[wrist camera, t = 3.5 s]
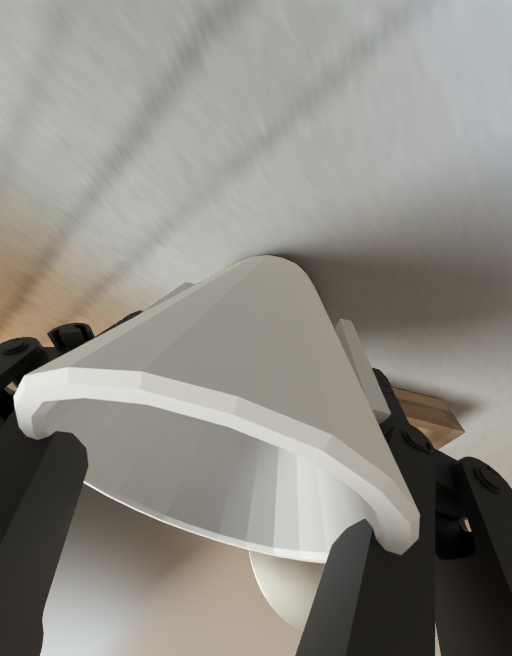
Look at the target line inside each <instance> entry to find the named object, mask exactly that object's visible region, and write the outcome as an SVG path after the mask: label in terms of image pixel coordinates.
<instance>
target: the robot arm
mask: <svg viewBox="0 0 512 656" xmlns="http://www.w3.org/2000/svg"><path fill="white" fill-rule="evenodd" d="M194 285H196V284H192V283H187V282H185V283H184V284H182V285H181V286H179V287H178V288H176V289H175V290H174V291H172V292H171V293H169V294H168V295H166V296H165V297H163V298H162V299H161V300H159V301H158V302H156V303H155V304H153V305H152V306H150V307H149V308H148V309H146V310H145V311H147V310H149V309H151V308H152V307H154V306H156V305H158V304H160V303H162V302H164V301H166V300H168V299H169V298H171V297H173V296H175V295H177V294H179V293H181V292H183V291H184V290H186V289H188V288H190V287H192V286H194ZM145 311H137V312H134V313H132V314H129V315H128V316H126V317H125V318H123V320H120V321H119V322H117V323H116V324H114V325H113V326H111V327H110V328H108V329H106V330H105V331H103V332H102V333H100V334H99V335H97V336H96V337H98V336H100V335H102V334H103V333H105V332H107V331H109V330H111V329H113V328H115V327H117V326H119V325H120V324H122V323H124V322H126V321H128V320H130V319H132V318H134V317H136V316H137V315H139V314H141V313H143V312H145ZM334 330H335V332H336V334H337V336H338V338H339V340H340V343H341V345H342V347H343V349H344V351H345V353H346V356H347V358H348V360H349V362H350V364H351V366H352V369H353V371H354V373H355V375H356V377H357V379H358V382H359V384H360V386H361V388H362V390H363V392H364V394H365V397H366V399H367V401H368V403H369V405H370V407H371V410H372V412H373V414H374V416H375V418H376V420H377V423H378V425H379V427H380V429H381V431H382V433H383V436H384V438H385V440H386V442H387V444H388V446H389V449H390V451H391V453H392V455H393V457H394V459H395V461H396V464H397V466H398V468H399V470H400V472H401V474H402V477H403V479H404V481H405V483H406V485H407V487H408V490H409V492H410V494H411V496H412V498H413V500H414V503H415V505H416V507H417V509H418V511H419V513H420V523H419V539H418V540H417V541H416V542H415V543H414V544H413V545H412V546H411V547H410V548H409V549H408V550H406V551H405V552H404V553H403V554H402V555H399V554H396V553H393V552H389V551H386V550H385V549H384V548H383V547H382V546H381V544H380V543H379V542H378V541H377V539H376V537H375V534H374V530H373V527H372V526H371V525H370V524H369V522H368V521H367V520H366V519H363V520H361V521H359V522H357V523H355V524H353V525H352V526H350V527H348V528H346V529H345V530H344V532H343V533H342V534H341V535H340V536H339V537H338V538H337V540H336V541H335V542H334V543H333V544H332V546H331V549H330V552H329V555H328V558H327V561H326V564H325V567H324V570H323V573H322V576H321V579H320V582H319V585H318V589H317V592H316V595H315V598H314V601H313V604H312V607H311V610H310V613H309V616H308V619H307V622H306V625H305V628H304V631H303V634H302V637H301V640H300V644H299V646H298V649H297V652H296V655H295V656H435V622H436V628H437V634H438V640H439V645H440V652H441V656H512V489H511V488H510V486H509V485H508V483H507V482H506V481H505V480H504V479H503V478H502V477H501V476H500V475H499V473H497V472H496V471H495V470H494V469H493V468H491V467H490V466H489V465H487V464H486V463H484V462H482V461H481V460H479V459H476V458H473V457H464V458H462V459H460V460H458V461H457V460H455V459H453V458H452V457H450V456H448V455H446V454H444V453H442V452H440V451H439V450H437V449H435V448H434V447H433V445H432V443H431V442H430V440H429V439H428V438H427V437H426V436H425V435H424V433H423V432H421V431H420V430H419V429H417V428H416V427H414V426H412V425H410V424H409V422H408V420H407V418H406V416H405V413H404V411H403V409H402V407H401V405H400V403H399V401H398V399H397V397H396V396H395V393H394V391H393V389H392V388H391V385H390V383H389V381H388V379H387V377H386V376H385V375H384V374H383V373H382V372H381V371H380V370H379V369H375V368H371V365H370V363H369V361H368V358H367V356H366V354H365V351H364V349H363V347H362V344H361V342H360V340H359V337H358V335H357V332H356V330H355V328H354V325H353V323H352V321H350V320H345V319H341V318H340V319H339V321H338V323H337V325H336V327H335V329H334ZM47 334H48V336H49V338H50V339H51V341H52V343H53V344H54V346H55V347H42V345H41V344H40V342H39V341H38V340H37V339H36V338H32V337H21V338H15V339H11V340H8V341H5V342H3V343H1V344H0V656H40V653H41V648H42V642H43V634H44V633H43V625H42V616H43V611H44V607H45V603H46V600H47V597H48V594H49V590H50V587H51V584H52V581H53V578H54V575H55V571H56V568H57V565H58V562H59V559H60V555H61V552H62V549H63V546H64V542H65V539H66V536H67V533H68V530H69V527H70V524H71V520H72V517H73V514H74V511H75V508H76V504H77V501H78V498H79V495H80V492H81V488H82V485H83V482H84V479H85V476H86V473H87V469H88V466H89V465H88V457H87V449H86V447H85V446H84V445H83V444H82V443H81V442H80V441H79V439H78V438H77V437H76V436H75V435H74V434H73V433H69V432H61V431H55V432H54V433H53V434H51V435H50V436H48V437H45V438H43V439H40V440H37V439H33V438H30V437H27V436H26V435H25V434H24V433H23V432H22V430H21V429H20V428H19V425H18V420H17V416H16V412H15V407H14V398H13V396H14V394H15V392H16V390H15V391H14V392H13V393H11V394H8V393H7V392H6V391H5V390H4V388H5V387H6V386H7V385H9V384H10V383H11V382H12V383H13V384H14V385H15V386H16V387H17V388H18V386H19V385H20V383H21V381H22V379H23V377H24V375H26V374H28V373H30V372H32V371H34V370H36V369H38V368H39V367H41V366H43V365H45V364H47V363H49V362H51V361H53V360H55V359H56V358H58V357H60V356H62V355H64V354H66V353H68V352H70V351H71V350H73V349H75V348H77V347H79V346H81V345H83V344H85V343H87V342H88V341H90V340H92V339H94V338H96V337H95V336H94V334H93V332H92V329H91V327H90V326H89V325H87V324H84V323H71V324H65V325H62V326H59V327H57V328H54V329H52V330H51V331H50V332H48V333H47ZM467 519H468V522H469V525H470V528H471V531H472V532H469V531H468V529H467V527H466V525H465V521H464V520H467Z"/></svg>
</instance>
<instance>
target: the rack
mask: <svg viewBox="0 0 512 656" xmlns="http://www.w3.org/2000/svg"><path fill="white" fill-rule="evenodd" d="M391 388H392V389H393V391H394V393H395V396H396V397H397V399H398V401H399V403H400V405H401V407H402V409H403V411H404V413H405V416H406V418H407V420H408V422H409V424H410V425H412V426H414V427H416V428H417V429H419V430H420V431H421V432H423V433H424V435H425V436H426V437H427V438H428V439H429V440H430V442H431V443H432V445H433V447H434V448H435V449H437V450H438V449H439V448H441V447H443V446H444V445H446V444H447V443H449V442H451V441H452V440H454V439H456V438H457V437H459V436H460V435H462V434H464V433H465V431H464V429H463V428H462V427H461V425H460V424H459V422H458V421H457V420H456V418H455V417H454V415H453V414H452V413H451V411H450V410H449V408H448V407H447V406H446V404H445V403H444V401H443V400H441V399H437V398H433V397H429V396H425V395H421V394H417V393H413V392H409V391H405V390H401V389H397V388H394V387H391ZM249 555H250V560H251V564H252V568H253V571H254V574H255V577H256V580H257V582H258V584H259V587H260V589H261V591H262V593H263V595H264V597H265V598H266V600H267V602H268V603H269V605H270V606H271V607H272V609H273V610H274V611H275V613H276V614H277V615H278V616H279V617H280V618H281V619H282V620H283V621H284V622H285V623H287V624H288V625H290V626H291V627H292V628H294V629H296V630H298V631H300V632H302V633H303V631H304V628H305V625H306V622H307V619H308V616H309V613H310V610H311V607H312V604H313V601H314V598H315V595H316V592H317V589H318V585H319V582H320V579H321V576H322V573H323V570H324V567H325V563H315V562H306V561H300V560H294V559H287V558H281V557H276V556H272V555H268V554H264V553H259V552H255V551H251V550H249Z"/></svg>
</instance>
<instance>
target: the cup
mask: <svg viewBox="0 0 512 656" xmlns="http://www.w3.org/2000/svg"><path fill="white" fill-rule="evenodd" d="M13 398H14V407H15V412H16V416H17V420H18V425H19V428H20V429H21V430H22V432H23V433H24V434H25V435H26V436H27V437H30V438H33V439H37V440H40V439H43V438H45V437H48V436H50V435H51V434H53V433H54V432H55V431H61V432H69V433H73V434H74V435H75V436H76V437H77V438H78V439H79V441H80V442H81V443H82V444H83V445H84V446H85V447H86V449H87V457H88V465H89V466H88V469H87V473H86V476H85V479H84V482H83V483H85V484H87V485H88V486H90V487H92V488H94V489H95V490H97V491H99V492H101V493H102V494H104V495H106V496H108V497H110V498H112V499H114V500H116V501H118V502H120V503H122V504H124V505H126V506H128V507H130V508H133V509H134V510H137V511H139V512H141V513H144V514H146V515H148V516H151V517H153V518H155V519H157V520H160V521H162V522H165V523H167V524H170V525H173V526H175V527H178V528H181V529H183V530H186V531H189V532H192V533H195V534H198V535H201V536H204V537H207V538H210V539H213V540H216V541H219V542H222V543H226V544H230V545H233V546H237V547H240V548H244V549H247V550H251V551H255V552H259V553H264V554H268V555H272V556H276V557H281V558H287V559H294V560H300V561H306V562H315V563H325V564H326V561H327V558H328V555H329V552H330V549H331V546H332V544H333V543H334V542H335V541H336V540H337V538H338V537H339V536H340V535H341V534H342V533H343V532H344V530H345V529H346V528H348V527H350V526H352V525H353V524H355V523H357V522H359V521H361V520H363V519H366V520H367V521H368V522H369V524H370V525H371V526H372V527H373V530H374V534H375V537H376V539H377V541H378V542H379V543H380V544H381V546H382V547H383V548H384V549H385V550H386V551H389V552H393V553H396V554H399V555H402V554H403V553H404V552H405V551H406V550H408V549H409V548H410V547H411V546H412V545H413V544H414V543H415V542H416V541H417V540H418V539H419V523H420V513H419V511H418V509H417V507H416V505H415V503H414V500H413V498H412V496H411V494H410V492H409V490H408V487H407V485H406V483H405V481H404V479H403V477H402V474H401V472H400V470H399V468H398V466H397V464H396V461H395V459H394V457H393V455H392V453H391V451H390V449H389V446H388V444H387V442H386V440H385V438H384V436H383V433H382V431H381V429H380V427H379V425H378V423H377V420H376V418H375V416H374V414H373V412H372V410H371V407H370V405H369V403H368V401H367V399H366V397H365V394H364V392H363V390H362V388H361V386H360V384H359V382H358V379H357V377H356V375H355V373H354V371H353V369H352V366H351V364H350V362H349V360H348V358H347V356H346V353H345V351H344V349H343V347H342V345H341V343H340V340H339V338H338V336H337V334H336V332H335V330H334V327H333V325H332V323H331V321H330V319H329V317H328V315H327V312H326V310H325V308H324V306H323V304H322V302H321V299H320V297H319V295H318V293H317V291H316V289H315V287H314V285H313V283H312V281H311V280H310V278H309V277H308V275H307V274H306V273H305V272H304V271H303V270H302V269H301V268H300V267H299V266H298V265H297V264H295V263H293V262H291V261H289V260H286V259H284V258H281V257H277V256H273V255H260V256H253V257H250V258H247V259H244V260H242V261H239V262H237V263H235V264H233V265H232V266H230V267H228V268H226V269H224V270H222V271H220V272H218V273H216V274H215V275H213V276H211V277H209V278H207V279H205V280H203V281H201V282H200V283H198V284H196V285H194V286H192V287H190V288H188V289H186V290H184V291H183V292H181V293H179V294H177V295H175V296H173V297H171V298H169V299H168V300H166V301H164V302H162V303H160V304H158V305H156V306H154V307H152V308H151V309H149V310H147V311H145V312H143V313H141V314H139V315H137V316H136V317H134V318H132V319H130V320H128V321H126V322H124V323H122V324H120V325H119V326H117V327H115V328H113V329H111V330H109V331H107V332H105V333H103V334H102V335H100V336H98V337H96V338H94V339H92V340H90V341H88V342H87V343H85V344H83V345H81V346H79V347H77V348H75V349H73V350H71V351H70V352H68V353H66V354H64V355H62V356H60V357H58V358H56V359H55V360H53V361H51V362H49V363H47V364H45V365H43V366H41V367H39V368H38V369H36V370H34V371H32V372H30V373H28V374H26V375H24V377H23V379H22V381H21V383H20V385H19V386H18V388H17V390H16V392H15V394H14V396H13Z"/></svg>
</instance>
